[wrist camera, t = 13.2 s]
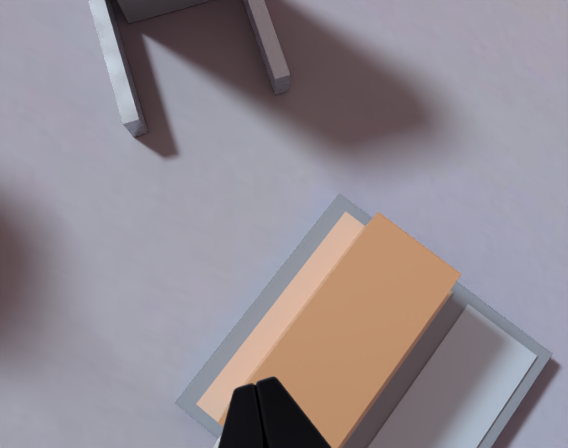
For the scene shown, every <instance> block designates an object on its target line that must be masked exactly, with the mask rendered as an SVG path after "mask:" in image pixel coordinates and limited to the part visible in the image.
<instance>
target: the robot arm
mask: <svg viewBox="0 0 568 448" xmlns="http://www.w3.org/2000/svg"><path fill="white" fill-rule="evenodd" d="M218 448H332V447H331V446H330V445H329V443H328V442H327V441H326V440H325V438H324V437H323V436H322V434H321V433H320V432H319V431H318V429H317V428H316V427H315V425H314V424H313V423H312V422H311V420H310V419H309V418H308V417H307V415H306V414H305V413H304V411H303V410H302V409H301V408H300V406H299V405H298V404H297V402H296V401H295V400H294V399H293V397H292V396H291V395H290V394H289V392H288V391H287V390H286V388H285V387H284V386H283V385H282V383H281V382H280V381H279V380H278V378H277V377H275V376H272V377H268V378H265V379H262V380H259V381H257V382H256V385H255V384H254V383H249V384H246V385H243V386H240V387H237V388H235V389H234V391H233V394H232V397H231V401H230V405H229V408H228V412H227V416H226V419H225V423H224V427H223V431H222V434H221V438H220V442H219V446H218Z"/></svg>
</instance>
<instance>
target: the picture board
mask: <svg viewBox="0 0 568 448" xmlns="http://www.w3.org/2000/svg"><path fill="white" fill-rule="evenodd" d="M371 219H372V217H370V216H369V215H368V214H366V213H365V212H364V211H362V210H361V209H360V208H358V207H357V206H356V205H354V204H353V203H352V202H350V201H349V200H348V199H346V198H345V197H344V196H342V195H341V194H340V193H339V194H338V195H337V197H336V198H335V199H334V201H333V202H332V203H331V204H330V206H329V207H328V208H327V210H326V211H325V212H324V213H323V215H322V216H321V217H320V218H319V220H318V221H317V222H316V224H315V225H314V226H313V227H312V229H311V230H310V231H309V232H308V234H307V235H306V236H305V238H304V239H303V240H302V241H301V243H300V244H299V245H298V246H297V248H296V249H295V250H294V252H293V253H292V254H291V255H290V257H289V258H288V259H287V261H286V262H285V263H284V264H283V266H282V267H281V268H280V269H279V271H278V272H277V273H276V275H275V276H274V277H273V278H272V280H271V281H270V282H269V283H268V285H267V286H266V287H265V289H264V290H263V291H262V292H261V294H260V295H259V296H258V297H257V299H256V300H255V301H254V303H253V304H252V305H251V306H250V308H249V309H248V310H247V311H246V313H245V314H244V315H243V317H242V318H241V319H240V320H239V322H238V323H237V324H236V326H235V327H234V328H233V329H232V331H231V332H230V333H229V334H228V336H227V337H226V338H225V340H224V341H223V342H222V343H221V345H220V346H219V347H218V348H217V350H216V351H215V352H214V354H213V355H212V356H211V357H210V359H209V360H208V361H207V362H206V364H205V365H204V366H203V368H202V369H201V370H200V371H199V373H198V374H197V375H196V377H195V378H194V379H193V380H192V382H191V383H190V384H189V385H188V387H187V388H186V389H185V391H184V392H183V393H182V394H181V396H180V397H179V398H178V399H177V401H176V402H175V403H176V404H177V405H178V406H179V407H180V408H182V409H183V410H184V411H185V412H186V413H188V414H189V415H190V416H191V417H192V418H194V419H195V420H196V421H197V422H198V423H200V424H201V425H202V426H203V427H204V428H205V429H207V430H208V431H209V432H210V433H211V434H213V435H214V436H215V437H216V438H217V439H218V438H219V437H220V436H221V434H222V431H223V426H222V425H221V424H219V423H218V421H219V419H220V417H221V416H222V414H223V412H224V410H225V408H226V407H227V405H228V403H229V402H230V401H231V397H232V394H233V391H234V389H235V388H237V387H240V386H242V385H243V384H244V382H245V381H246V380H247V378H248V377H249V376H250V374H251V373H252V372H253V371H254V369H255V368H256V367H257V365H258V364H259V363H260V361H261V360H262V359H263V357H264V356H265V355H266V354H267V352H268V351H269V350H270V348H271V347H272V346H273V344H274V343H275V342H276V340H277V339H278V338H279V337H280V335H281V334H282V333H283V331H284V330H285V329H286V327H287V326H288V325H289V323H290V322H291V321H292V320H293V318H294V317H295V316H296V314H297V313H298V312H299V310H300V309H301V308H302V306H303V305H304V304H305V303H306V301H307V300H308V299H309V297H310V296H311V295H312V293H313V292H314V291H315V289H316V288H317V287H318V286H319V284H320V283H321V282H322V280H323V279H324V278H325V276H326V275H327V274H328V272H329V271H330V270H331V269H332V267H333V266H334V265H335V263H336V262H337V261H338V259H339V258H340V257H341V255H342V254H343V253H344V252H345V250H346V249H347V248H348V246H349V245H350V244H351V242H352V241H353V240H354V238H355V237H356V236H357V235H358V233H359V232H360V231H361V229H362V228H363V227H364V226H365V225H366V224H367V223H368V222H369V221H370V220H371ZM551 355H552V353H551V352H550V351H548V350H547V349H546V348H544V347H543V346H542V345H540V344H539V343H538V342H536V341H535V340H534V339H532V338H531V337H530V336H528V335H527V334H526V333H524V332H523V331H522V330H520V329H519V328H518V327H516V326H515V325H514V324H512V323H511V322H510V321H508V320H507V319H506V318H504V317H503V316H502V315H500V314H499V313H498V312H496V311H495V310H494V309H493V308H491V307H490V306H489V305H487V304H486V303H485V302H483V301H482V300H481V299H479V298H478V297H477V296H475V295H474V294H473V293H471V292H470V291H469V290H467V289H466V288H465V287H463V286H462V285H461V284H459V283H458V282H457V281H456V283H455V284H454V286H453V287H452V288H451V290H450V291H449V293H448V294H447V295H446V297H445V298H444V300H443V301H442V302H441V304H440V305H439V307H438V308H437V309H436V311H435V312H434V314H433V315H432V316H431V318H430V319H429V321H428V322H427V323H426V325H425V326H424V328H423V329H422V330H421V332H420V333H419V335H418V336H417V337H416V339H415V340H414V342H413V343H412V344H411V346H410V347H409V349H408V350H407V351H406V353H405V354H404V356H403V357H402V358H401V360H400V361H399V363H398V364H397V365H396V367H395V368H394V370H393V371H392V372H391V374H390V375H389V377H388V378H387V379H386V381H385V382H384V384H383V385H382V386H381V388H380V389H379V391H378V392H377V394H376V395H375V396H374V398H373V399H372V401H371V402H370V403H369V405H368V406H367V408H366V409H365V410H364V412H363V413H362V415H361V416H360V417H359V419H358V420H357V422H356V423H355V424H354V426H353V427H352V429H351V430H350V431H349V433H348V434H347V436H346V437H345V438H344V440H343V441H342V443H341V444H340V445H339V447H338V448H491V447H492V445H493V443H494V442H495V440H496V439H497V437H498V436H499V434H500V433H501V431H502V430H503V428H504V427H505V425H506V424H507V422H508V421H509V419H510V418H511V416H512V415H513V413H514V412H515V410H516V408H517V407H518V405H519V404H520V402H521V401H522V399H523V398H524V396H525V395H526V393H527V392H528V390H529V389H530V387H531V386H532V384H533V383H534V381H535V380H536V378H537V377H538V375H539V374H540V372H541V370H542V369H543V367H544V366H545V364H546V363H547V361H548V360H549V358H550V357H551Z"/></svg>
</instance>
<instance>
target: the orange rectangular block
mask: <svg viewBox="0 0 568 448" xmlns="http://www.w3.org/2000/svg"><path fill="white" fill-rule="evenodd" d="M460 276H461V273H459V272H458V271H457V270H455V269H454V268H453V267H451V266H450V265H449V264H447V263H446V262H445V261H443V260H442V259H441V258H439V257H438V256H437V255H435V254H434V253H433V252H431V251H430V250H429V249H427V248H426V247H425V246H423V245H422V244H421V243H419V242H418V241H417V240H415V239H414V238H413V237H411V236H410V235H409V234H407V233H406V232H405V231H403V230H402V229H401V228H399V227H398V226H397V225H395V224H394V223H393V222H391V221H390V220H389V219H387V218H386V217H385V216H383V215H382V214H381V213H379V212H378V213H377V214H376V215H375V216H374V217H373V218H372V219H371V220H370V221H369V222H368V223H367V224H366V225H365V226H364V227H363V228H362V229H361V231H360V232H359V233H358V235H357V236H356V237H355V238H354V240H353V241H352V242H351V244H350V245H349V246H348V248H347V249H346V250H345V252H344V253H343V254H342V255H341V257H340V258H339V259H338V261H337V262H336V263H335V265H334V266H333V267H332V269H331V270H330V271H329V272H328V274H327V275H326V276H325V278H324V279H323V280H322V282H321V283H320V284H319V286H318V287H317V288H316V289H315V291H314V292H313V293H312V295H311V296H310V297H309V299H308V300H307V301H306V303H305V304H304V305H303V306H302V308H301V309H300V310H299V312H298V313H297V314H296V316H295V317H294V318H293V320H292V321H291V322H290V323H289V325H288V326H287V327H286V329H285V330H284V331H283V333H282V334H281V335H280V337H279V338H278V339H277V340H276V342H275V343H274V344H273V346H272V347H271V348H270V350H269V351H268V352H267V354H266V355H265V356H264V357H263V359H262V360H261V361H260V363H259V364H258V365H257V367H256V368H255V369H254V371H253V372H252V373H251V374H250V376H249V377H248V378H247V380H246V381H245V382H244V384H243V385H246V384H249V383H254V384H255V385H256V382H257V381H259V380H262V379H265V378H268V377H272V376H275V377H277V378H278V380H279V381H280V382H281V383H282V385H283V386H284V387H285V388H286V390H287V391H288V392H289V394H290V395H291V396H292V397H293V399H294V400H295V401H296V402H297V404H298V405H299V406H300V408H301V409H302V410H303V411H304V413H305V414H306V415H307V417H308V418H309V419H310V420H311V422H312V423H313V424H314V425H315V427H316V428H317V429H318V431H319V432H320V433H321V434H322V436H323V437H324V438H325V440H326V441H327V442H328V443H329V445H330V446H331V447H332V448H338V447H339V445H340V444H341V443H342V441H343V440H344V438H345V437H346V436H347V434H348V433H349V431H350V430H351V429H352V427H353V426H354V424H355V423H356V422H357V420H358V419H359V417H360V416H361V415H362V413H363V412H364V410H365V409H366V408H367V406H368V405H369V403H370V402H371V401H372V399H373V398H374V396H375V395H376V394H377V392H378V391H379V389H380V388H381V386H382V385H383V384H384V382H385V381H386V379H387V378H388V377H389V375H390V374H391V372H392V371H393V370H394V368H395V367H396V365H397V364H398V363H399V361H400V360H401V358H402V357H403V356H404V354H405V353H406V351H407V350H408V349H409V347H410V346H411V344H412V343H413V342H414V340H415V339H416V337H417V336H418V335H419V333H420V332H421V330H422V329H423V328H424V326H425V325H426V323H427V322H428V321H429V319H430V318H431V316H432V315H433V314H434V312H435V311H436V309H437V308H438V307H439V305H440V304H441V302H442V301H443V300H444V298H445V297H446V295H447V294H448V293H449V291H450V290H451V288H452V287H453V286H454V284H455V283H456V281H457V280H458V278H459V277H460ZM243 385H242V386H243ZM229 405H230V402H229V403H228V405H227V407H226V408H225V410H224V412H223V414H222V416H221V417H220V419H219V421H218V423H219V424H221V425H222V426H223V427H224V423H225V419H226V416H227V412H228V408H229ZM220 438H221V436H220V437H219V438H218V440H217V442H216V444H215V446H214V448H218V446H219V442H220Z"/></svg>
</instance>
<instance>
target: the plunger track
mask: <svg viewBox="0 0 568 448" xmlns="http://www.w3.org/2000/svg"><path fill="white" fill-rule="evenodd" d="M88 2H89V5H90V9H91V12H92V16H93V19H94V23H95V27H96V30H97V34H98V37H99V41H100V44H101V48H102V51H103V55H104V58H105V62H106V65H107V69H108V73H109V76H110V80H111V83H112V87H113V90H114V94H115V97H116V101H117V104H118V108H119V112H120V115H121V119H122V122H123V125H124V126H125V127H126V128H127V130H128V131H129V132H130V133H131V135H132V136H133V137H136V136H139V135H142V134H146V133H148V130H147V127H146V123H145V120H144V116H143V113H142V109H141V106H140V102H139V99H138V96H137V92H136V89H135V85H134V82H133V78H132V75H131V72H130V68H129V65H128V61H127V58H126V54H125V51H124V47H123V44H122V41H121V37H120V34H119V30H118V27H117V23H116V20H115V17H114V13H113V10H112V6H111V3H110V0H88ZM243 3H244V6H245V9H246V11H247V14H248V17H249V20H250V23H251V26H252V29H253V32H254V35H255V38H256V41H257V44H258V46H259V49H260V52H261V55H262V58H263V61H264V64H265V67H266V70H267V73H268V76H269V79H270V81H271V84H272V87H273V90H274V93H275V95H277V94H281V93H284V92H287V91H289V90H290V72H289V69H288V66H287V64H286V61H285V58H284V55H283V52H282V49H281V46H280V44H279V41H278V38H277V35H276V32H275V29H274V27H273V24H272V21H271V18H270V15H269V12H268V9H267V7H266V4H265V1H264V0H243Z"/></svg>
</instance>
